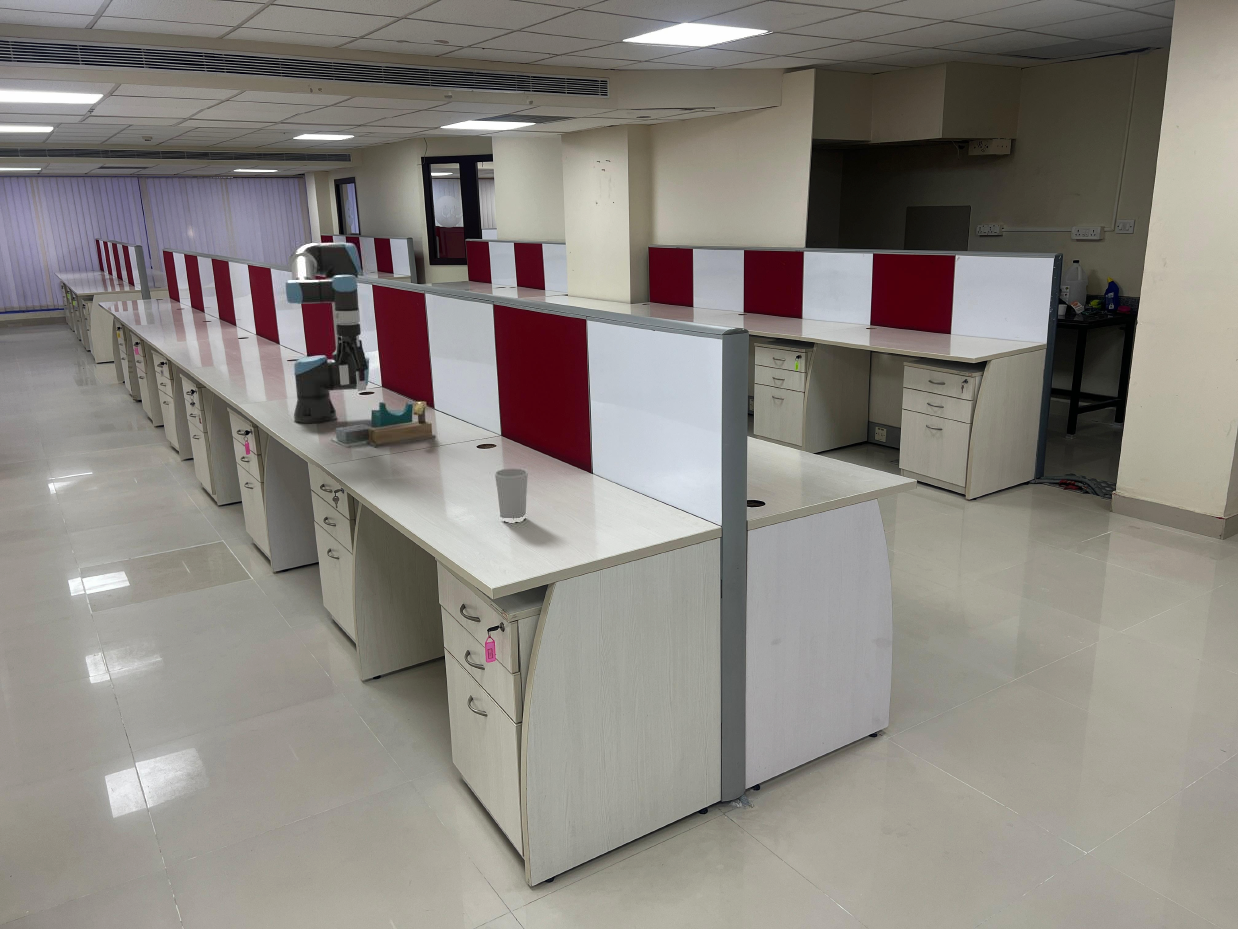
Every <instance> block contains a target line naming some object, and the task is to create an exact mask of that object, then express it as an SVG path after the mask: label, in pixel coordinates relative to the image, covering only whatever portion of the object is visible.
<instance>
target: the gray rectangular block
mask: <svg viewBox="0 0 1238 929" xmlns="http://www.w3.org/2000/svg"><path fill="white" fill-rule="evenodd" d="M371 428H374V426H373V427H372V426H369V425H367V424H364V423H362V424H361V423H360V424H354V425H348V426H343V427H336V428H335V435H336V438H335V439H337V440H338V441H340V442H343V443H345V444H350V443H357V442H363V441H369V440H370V439H369V429H371Z"/></svg>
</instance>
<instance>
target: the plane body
mask: <svg viewBox="0 0 1238 929" xmlns="http://www.w3.org/2000/svg"><path fill="white" fill-rule="evenodd" d="M417 419H418V420H416V421H412V422H409V423H403V424H397V425H390V426H384V427H377V428H375V427H373V428H371V429H369V439H370V441H366V444H365V445H367V446H368V445H369V446H371V447H374V448H380V447H386V446H393V445H398V444H405V443H411V442H417V441H423V440H427V439H428V440H429V439H433V438H434V439H435V438H436V437H437V436H436V434H435V433H433V426H432V422H429V421H427V420H426V409H423V411H422V414H421V415H417Z"/></svg>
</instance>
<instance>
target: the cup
mask: <svg viewBox="0 0 1238 929" xmlns="http://www.w3.org/2000/svg"><path fill="white" fill-rule="evenodd" d="M528 474H529V472H528V470H526V469H524V468H517V467H516V468H503V469H499V470H496V471H495V472H494V476H495V485H496V486H495V487H496V488H497V489H496V490H497V498H498V507H499V518H500V517H502V518H513V519H514V518H520V517H523V516H524V515H525V514H526V512H527V493H528V491H527V489H528V478H529V477H528Z"/></svg>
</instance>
